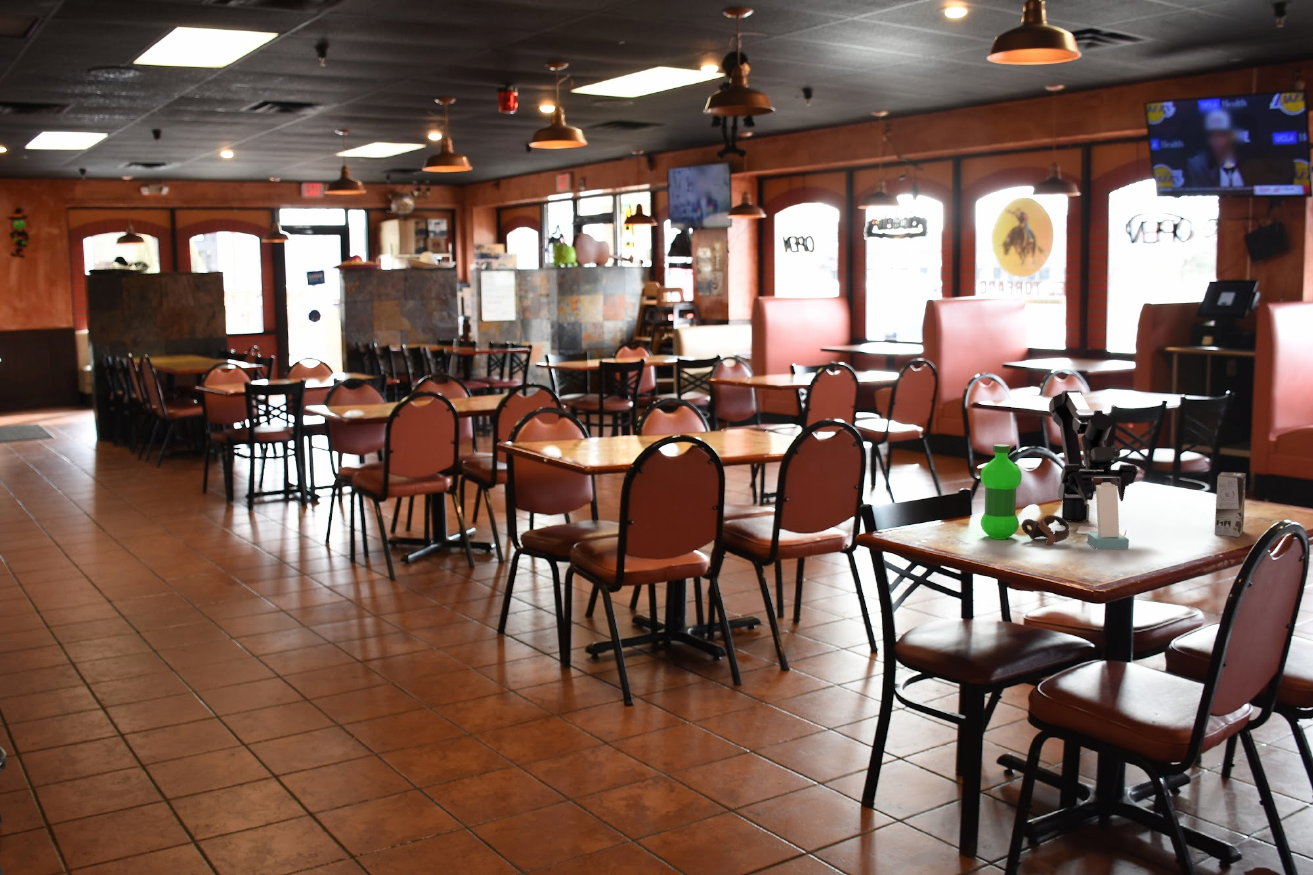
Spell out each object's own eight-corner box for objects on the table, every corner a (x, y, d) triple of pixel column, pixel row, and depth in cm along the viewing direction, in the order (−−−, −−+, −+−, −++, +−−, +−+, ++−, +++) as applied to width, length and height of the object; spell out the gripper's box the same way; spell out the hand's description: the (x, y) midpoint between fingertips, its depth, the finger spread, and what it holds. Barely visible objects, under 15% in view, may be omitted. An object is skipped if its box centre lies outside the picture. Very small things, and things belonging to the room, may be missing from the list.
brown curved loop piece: (1061, 539, 318) (1072, 516, 313) (1061, 562, 310) (1072, 538, 305) (1016, 527, 319) (1026, 504, 314) (1016, 549, 312) (1026, 526, 307)
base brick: (1087, 544, 312) (1087, 533, 312) (1118, 544, 312) (1119, 533, 311) (1096, 550, 304) (1096, 539, 304) (1128, 551, 304) (1128, 539, 303)
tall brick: (1097, 534, 310) (1095, 482, 309) (1116, 533, 309) (1114, 481, 308) (1100, 537, 306) (1098, 484, 304) (1119, 536, 305) (1117, 483, 303)
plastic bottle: (1019, 542, 313) (1021, 448, 310) (978, 540, 316) (980, 447, 313) (1020, 534, 322) (1022, 443, 319) (980, 532, 326) (982, 442, 323)
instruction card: (1076, 533, 323) (1076, 532, 323) (1079, 527, 331) (1080, 525, 331) (1123, 537, 318) (1123, 535, 318) (1126, 530, 326) (1126, 529, 326)
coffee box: (1240, 537, 316) (1243, 477, 314) (1213, 534, 319) (1216, 475, 317) (1244, 531, 323) (1247, 472, 321) (1218, 528, 327) (1221, 471, 325)
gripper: (1064, 434, 315) (1073, 482, 306) (1137, 434, 314) (1148, 483, 304) (1056, 458, 324) (1065, 506, 315) (1127, 459, 323) (1137, 507, 313)
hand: (1104, 500), depth 312 cm, fingers open, 9 cm apart
